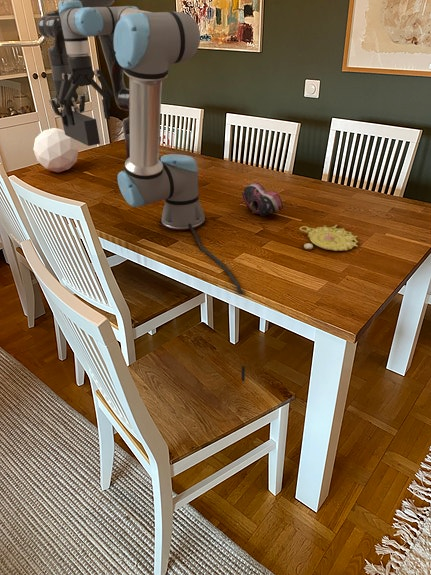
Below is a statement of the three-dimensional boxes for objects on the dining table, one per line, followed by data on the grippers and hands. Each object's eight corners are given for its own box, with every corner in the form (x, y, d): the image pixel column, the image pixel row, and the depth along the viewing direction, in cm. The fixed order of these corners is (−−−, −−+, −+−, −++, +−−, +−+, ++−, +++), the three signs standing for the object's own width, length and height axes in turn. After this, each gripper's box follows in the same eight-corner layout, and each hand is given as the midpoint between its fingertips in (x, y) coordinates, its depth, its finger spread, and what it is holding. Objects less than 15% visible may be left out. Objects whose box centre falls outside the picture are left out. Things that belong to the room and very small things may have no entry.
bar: (100, 143, 166) (96, 119, 162) (88, 146, 164) (84, 121, 159) (75, 132, 182) (71, 110, 177) (65, 134, 180) (60, 111, 175)
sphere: (65, 187, 210) (49, 161, 191) (35, 167, 214) (16, 139, 196) (92, 159, 215) (78, 132, 196) (62, 140, 219) (46, 111, 200)
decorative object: (343, 255, 128) (285, 234, 139) (342, 262, 130) (284, 241, 140) (372, 230, 142) (317, 213, 152) (371, 237, 143) (316, 219, 153)
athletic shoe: (254, 181, 170) (227, 189, 167) (283, 176, 151) (253, 185, 147) (260, 210, 173) (234, 218, 170) (290, 209, 154) (261, 219, 150)
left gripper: (77, 74, 172) (85, 120, 182) (41, 79, 165) (51, 126, 175) (85, 76, 167) (93, 123, 177) (48, 81, 160) (58, 129, 169)
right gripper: (107, 51, 157) (116, 114, 168) (38, 58, 144) (52, 125, 155) (117, 53, 152) (125, 117, 163) (46, 59, 139) (61, 129, 150)
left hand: (72, 124), depth 176 cm, fingers closed on bar, 4 cm apart
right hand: (90, 121), depth 159 cm, fingers open, 13 cm apart
